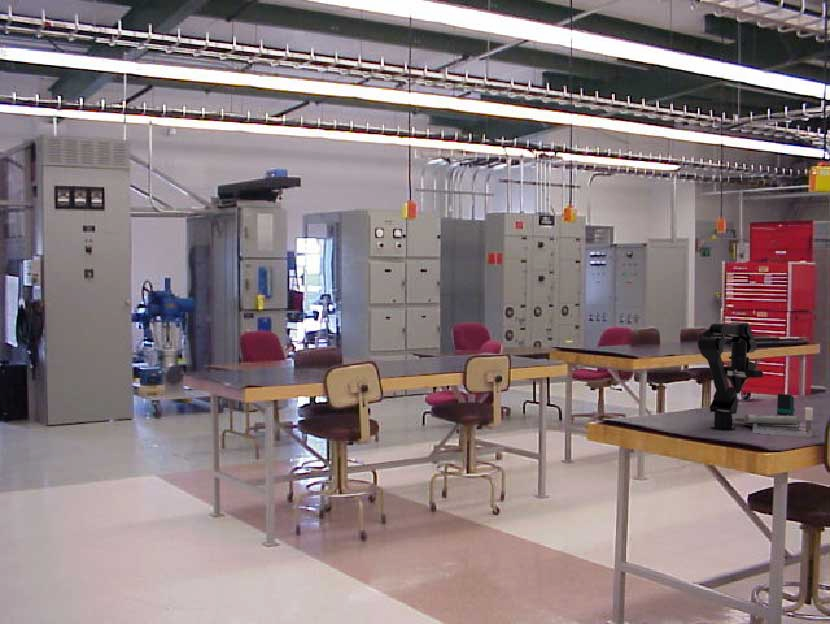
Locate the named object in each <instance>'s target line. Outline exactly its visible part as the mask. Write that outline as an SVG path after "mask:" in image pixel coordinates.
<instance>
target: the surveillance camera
mask: <svg viewBox="0 0 830 624" xmlns="http://www.w3.org/2000/svg"><path fill="white" fill-rule="evenodd" d="M776 400H777V401H776V416H778V414H779V416H795V398H794V396H793V395H792V394H788V393H777V399H776Z"/></svg>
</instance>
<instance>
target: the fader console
mask: <svg viewBox="0 0 830 624" xmlns="http://www.w3.org/2000/svg"><path fill="white" fill-rule="evenodd" d="M752 425H753V426H752V434H755V433H760V434H761V435H768V434H769V436H784V437H794V438H795V437H797V438H808V439H811V438H812V437H813V433H812V432H813V431H812V428H811V429H808V430H806V428H802V427H799V428H798V427H789V426H788V427H787V426H775V425H760V424H757V423H754V424H752ZM760 434H759V435H760Z"/></svg>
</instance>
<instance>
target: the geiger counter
mask: <svg viewBox="0 0 830 624" xmlns="http://www.w3.org/2000/svg"><path fill="white" fill-rule="evenodd" d="M754 423H757V425H761V426H797V428H801V423H802V417H801V416H800V415H794V416H779V414H778V416H777V415H774V414H773V415H772V412H770V414H769V413H767V414H766V415H765V414H760V415H759V414H745V415H744V416H743V417H737V418H732V424H738V425H744V426H752V427H753V424H754Z"/></svg>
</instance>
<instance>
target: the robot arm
mask: <svg viewBox="0 0 830 624" xmlns="http://www.w3.org/2000/svg"><path fill="white" fill-rule="evenodd" d="M714 335H721V336H720V337H714ZM725 335H727V336H730V337H731V339H730V340H729V343H730V344H731V345H730V346H731V347H730V348H731V349H730V350H731V351H730V356H728V360H730V366H727V365H724V363H723V360H722V356H721V355H722V353H723V352H724V346H725V345H726V342H727V340H726V336H725ZM697 347H698V349H699V352H700V354H701V356H702V357H703V358H705V359H706V360H707V364H708V366H709V370H710V374H711V377H712V380H713V385H714V388H715V392H714V394H713V399H712V401H711V404H710V406H709V410H710V413H714V419H713V420H714V422H713V424H714V425H712V426H710V428H711V429H717V430H722V431H728V430H735V429H736V427H733V422H732V419H733V415H734V414H735V415H736V414H737V413H738V406H739V397H738V394H741V391H742V388H743V386H744V383H745V382H746V380H747V379H750V378H763V377H764V372H763V370H762V369H758V368H757V365H758V364H757V363H754V362H753V361H750V358H749V356H747V355H748V354H752V353H755V351H757V348H758V345H757V342H756V341H755V338H754V334H753V331H752V328H751V326H750V324H749V323H748V322H743V321H742V322H741V321H731V322H729V323H727V324H724V323H712V324H710V326H709V327H708V329H707V330H705V331H704V332H702V333H701V336H700V337H699V340H698V341H697ZM728 380H729V381H730V383H731V386H730V385H729V381H728Z"/></svg>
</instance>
